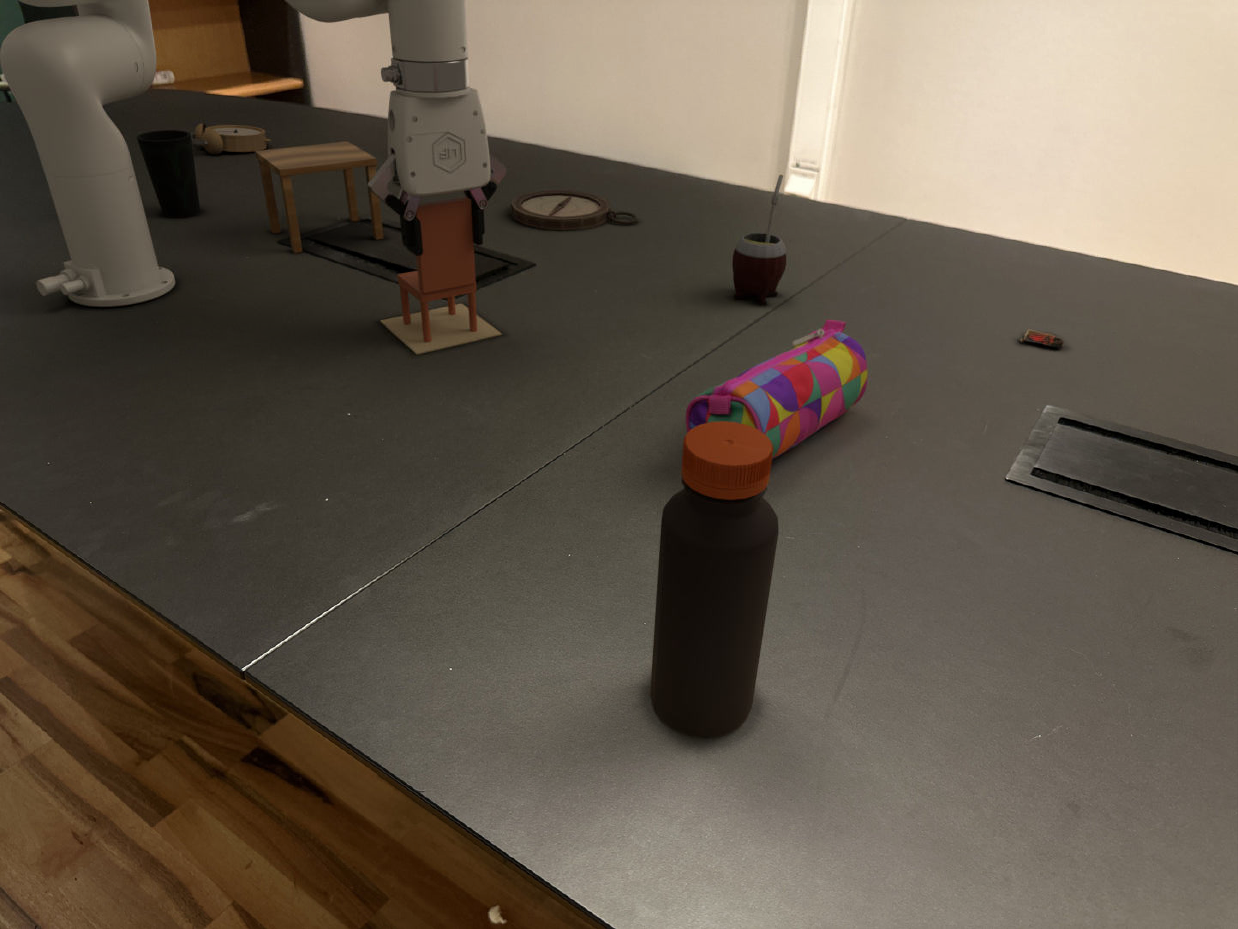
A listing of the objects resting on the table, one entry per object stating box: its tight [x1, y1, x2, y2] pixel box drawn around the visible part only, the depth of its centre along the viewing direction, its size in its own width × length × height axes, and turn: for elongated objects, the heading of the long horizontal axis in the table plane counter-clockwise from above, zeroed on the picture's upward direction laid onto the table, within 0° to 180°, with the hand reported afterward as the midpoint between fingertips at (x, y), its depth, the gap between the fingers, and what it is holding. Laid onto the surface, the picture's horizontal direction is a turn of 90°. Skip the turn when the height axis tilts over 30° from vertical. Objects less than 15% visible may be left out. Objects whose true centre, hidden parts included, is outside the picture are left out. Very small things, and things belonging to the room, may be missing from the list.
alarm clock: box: [190, 123, 272, 155], centre depth 180 cm, size 11×5×15 cm
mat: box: [379, 303, 502, 356], centre depth 110 cm, size 11×11×1 cm
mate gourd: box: [731, 174, 787, 306], centre depth 118 cm, size 8×8×15 cm
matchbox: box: [1019, 329, 1065, 349], centre depth 111 cm, size 5×5×1 cm
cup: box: [136, 129, 201, 219], centre depth 142 cm, size 8×8×12 cm
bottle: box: [649, 421, 779, 739], centre depth 54 cm, size 7×7×20 cm
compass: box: [510, 189, 638, 231], centre depth 149 cm, size 20×16×2 cm
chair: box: [396, 196, 478, 342], centre depth 105 cm, size 7×7×16 cm
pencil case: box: [685, 318, 869, 460], centre depth 87 cm, size 22×9×9 cm, turn 141°
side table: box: [254, 141, 384, 254], centre depth 135 cm, size 12×14×12 cm
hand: (444, 245), depth 101 cm, fingers closed on chair, 6 cm apart
